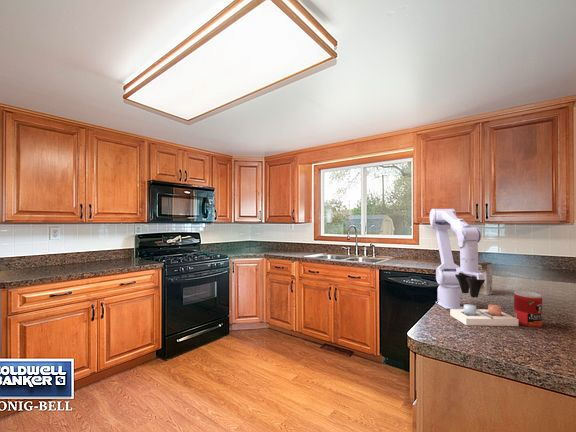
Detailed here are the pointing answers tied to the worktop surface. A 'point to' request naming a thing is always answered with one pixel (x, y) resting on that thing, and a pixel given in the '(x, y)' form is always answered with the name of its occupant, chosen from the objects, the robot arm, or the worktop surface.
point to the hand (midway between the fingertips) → (469, 295)
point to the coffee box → (485, 277)
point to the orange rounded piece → (494, 310)
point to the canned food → (528, 308)
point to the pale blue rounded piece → (469, 310)
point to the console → (484, 318)
